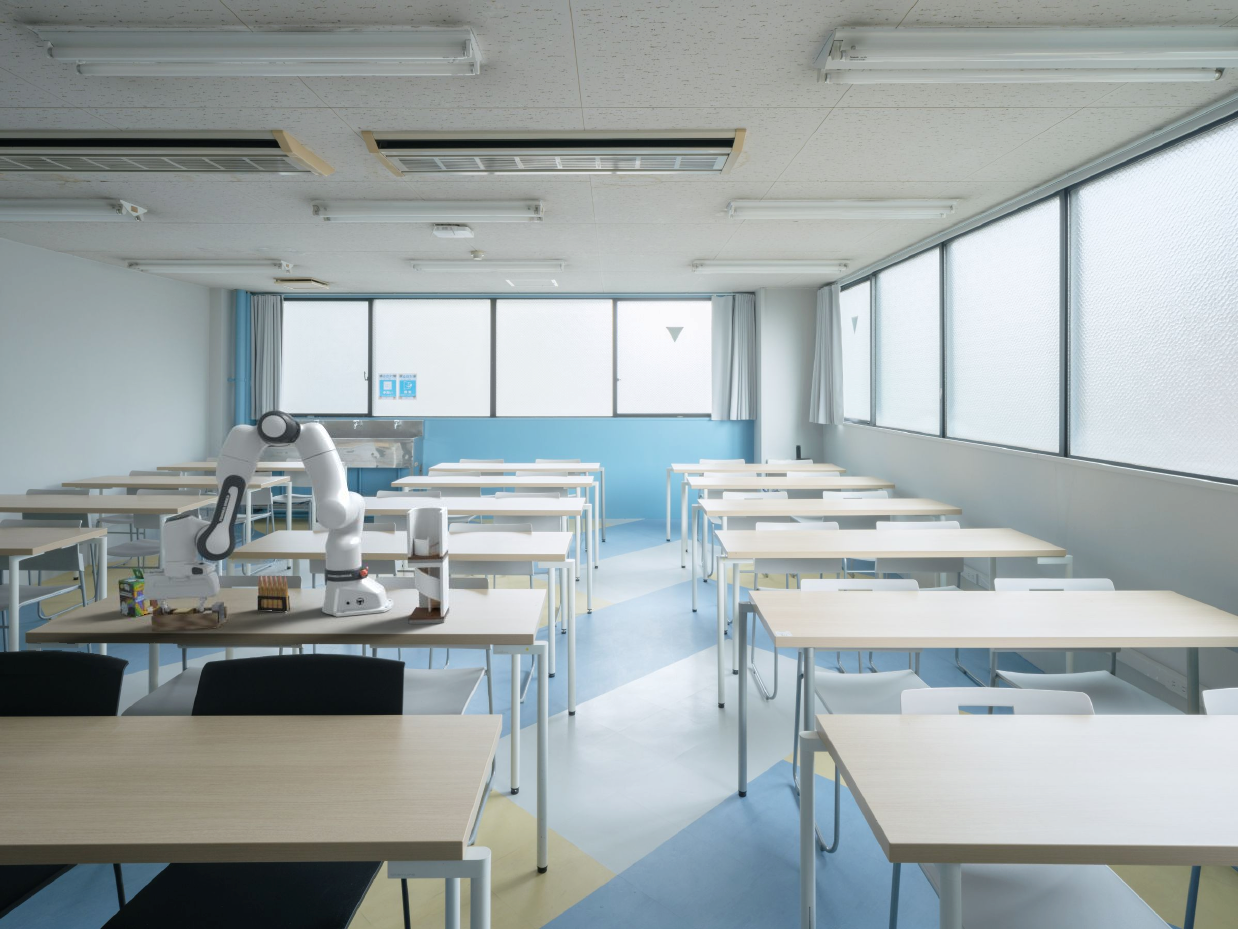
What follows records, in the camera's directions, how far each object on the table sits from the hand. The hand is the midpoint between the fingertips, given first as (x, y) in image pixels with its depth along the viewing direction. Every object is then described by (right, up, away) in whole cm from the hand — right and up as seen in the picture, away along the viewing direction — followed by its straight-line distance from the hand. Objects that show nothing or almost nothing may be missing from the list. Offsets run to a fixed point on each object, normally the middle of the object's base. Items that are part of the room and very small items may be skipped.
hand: (183, 612), depth 209 cm
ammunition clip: (+19, -3, +17) cm, 26 cm away
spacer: (0, -3, 0) cm, 3 cm away
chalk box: (-23, -3, +15) cm, 27 cm away
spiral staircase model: (+73, -4, +9) cm, 74 cm away
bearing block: (+2, -4, +1) cm, 5 cm away
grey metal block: (+8, -3, +2) cm, 9 cm away
